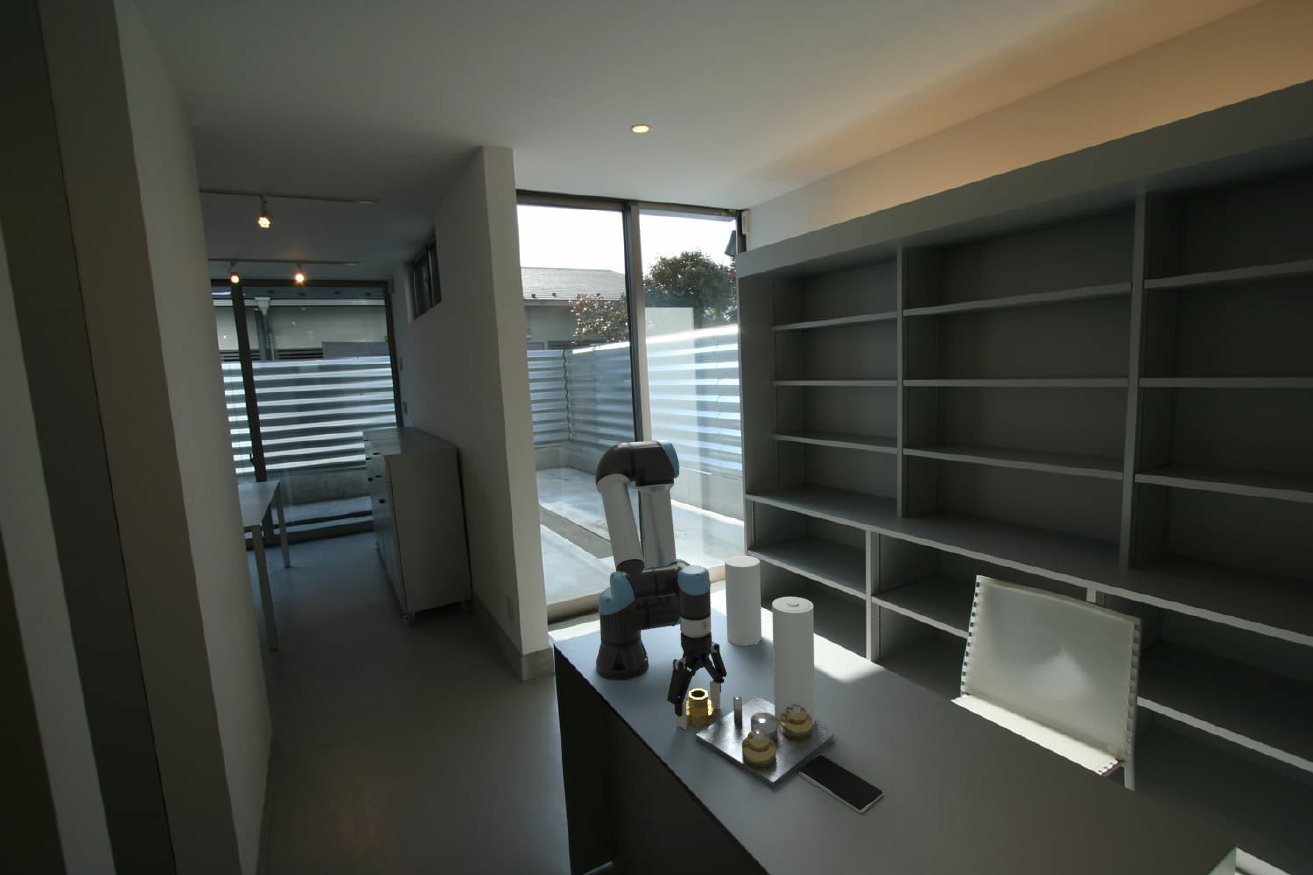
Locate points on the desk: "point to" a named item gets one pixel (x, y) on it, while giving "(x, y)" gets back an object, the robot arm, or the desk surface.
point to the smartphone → (840, 783)
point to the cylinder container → (793, 655)
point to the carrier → (765, 739)
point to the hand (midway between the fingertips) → (699, 716)
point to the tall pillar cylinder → (743, 600)
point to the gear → (699, 708)
